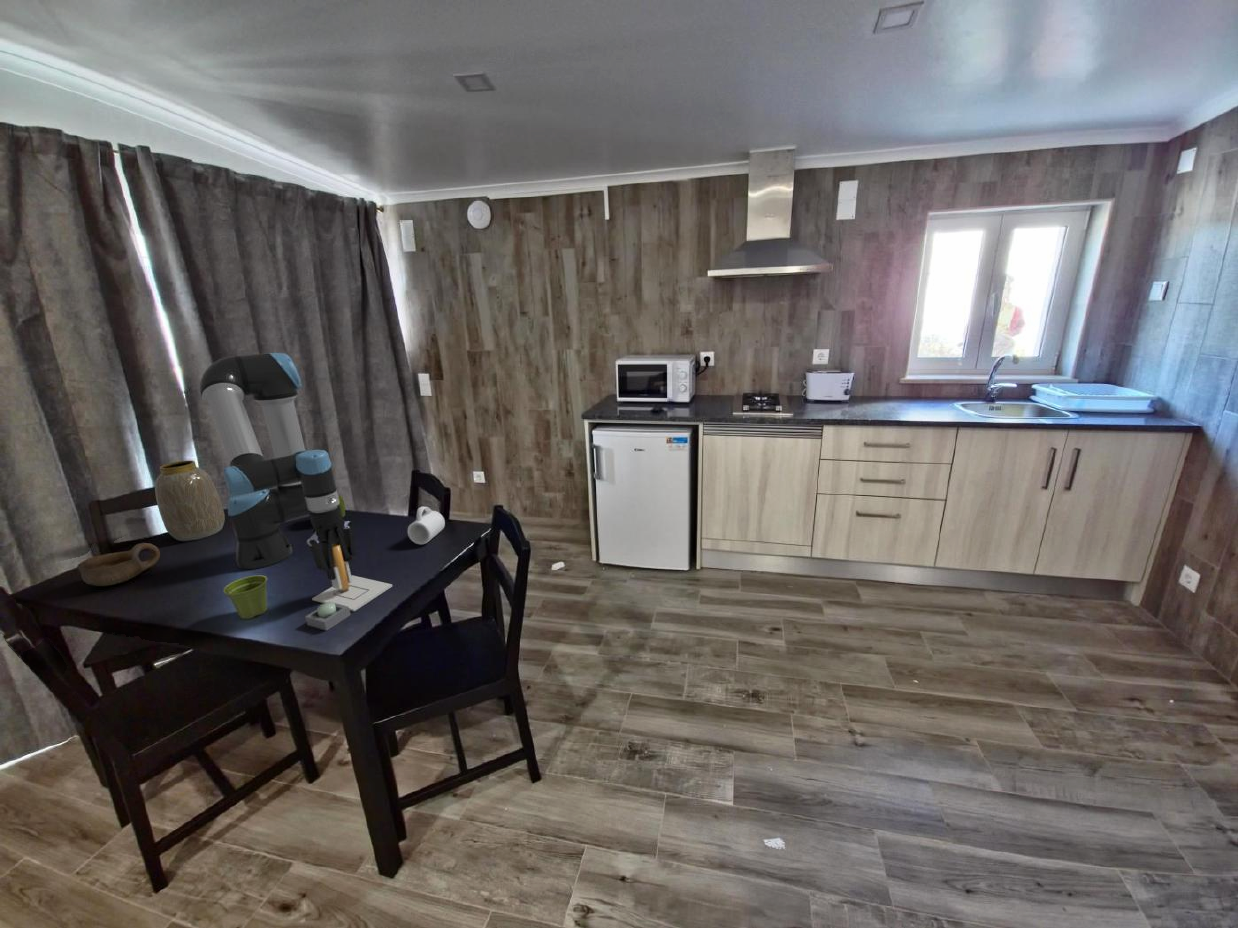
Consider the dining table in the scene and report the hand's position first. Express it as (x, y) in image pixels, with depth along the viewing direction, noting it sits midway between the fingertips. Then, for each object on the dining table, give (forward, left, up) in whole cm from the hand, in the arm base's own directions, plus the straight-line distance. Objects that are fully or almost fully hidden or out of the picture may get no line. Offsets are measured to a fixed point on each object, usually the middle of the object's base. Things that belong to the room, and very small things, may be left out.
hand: (342, 584), depth 140 cm
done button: (+8, -11, -1) cm, 13 cm away
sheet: (+3, +1, -3) cm, 4 cm away
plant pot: (-15, -15, -3) cm, 22 cm away
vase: (-89, +12, -3) cm, 90 cm away
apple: (-50, +36, -3) cm, 62 cm away
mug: (-2, +36, -3) cm, 36 cm away
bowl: (-75, -16, -3) cm, 77 cm away
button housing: (+8, -11, -3) cm, 14 cm away
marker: (0, 0, -2) cm, 2 cm away
